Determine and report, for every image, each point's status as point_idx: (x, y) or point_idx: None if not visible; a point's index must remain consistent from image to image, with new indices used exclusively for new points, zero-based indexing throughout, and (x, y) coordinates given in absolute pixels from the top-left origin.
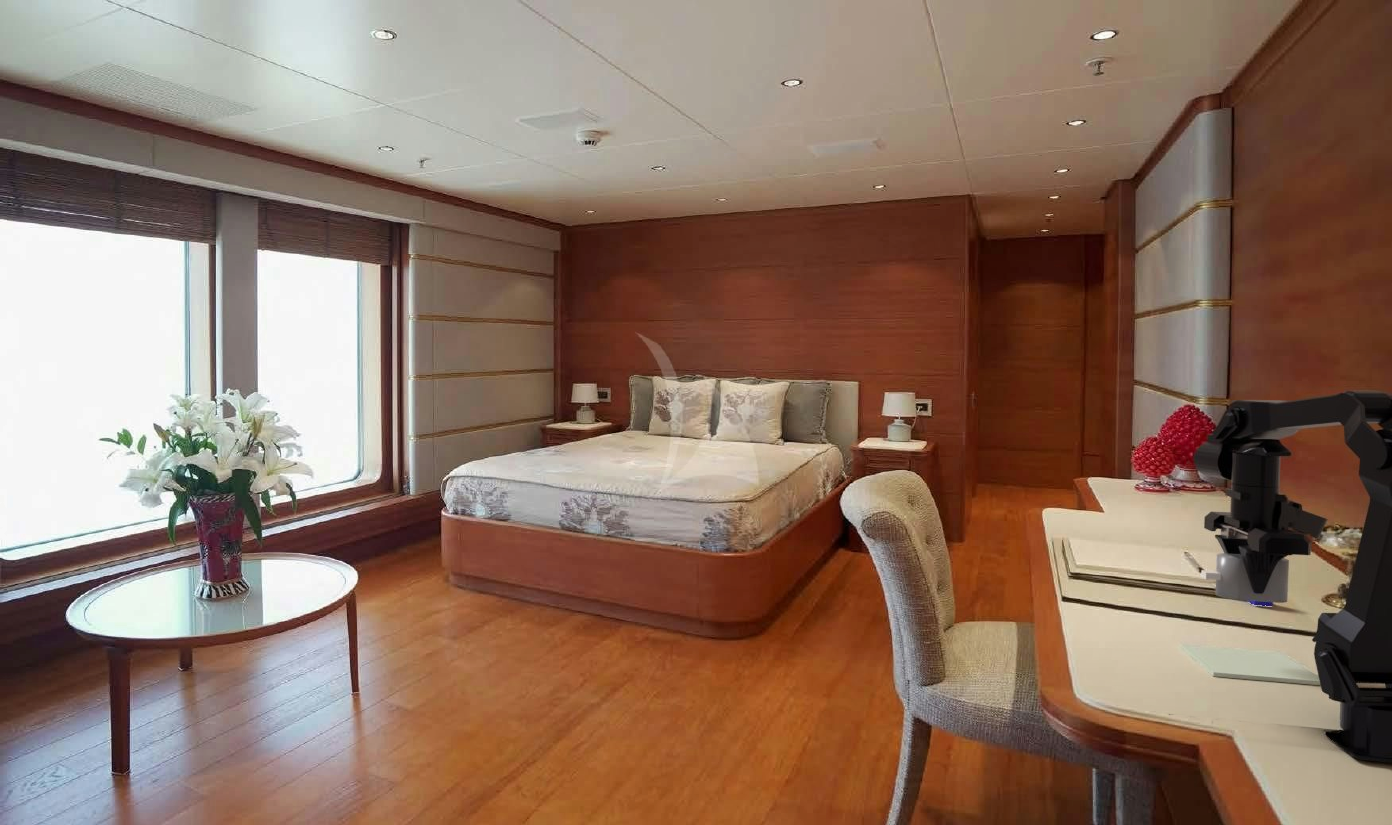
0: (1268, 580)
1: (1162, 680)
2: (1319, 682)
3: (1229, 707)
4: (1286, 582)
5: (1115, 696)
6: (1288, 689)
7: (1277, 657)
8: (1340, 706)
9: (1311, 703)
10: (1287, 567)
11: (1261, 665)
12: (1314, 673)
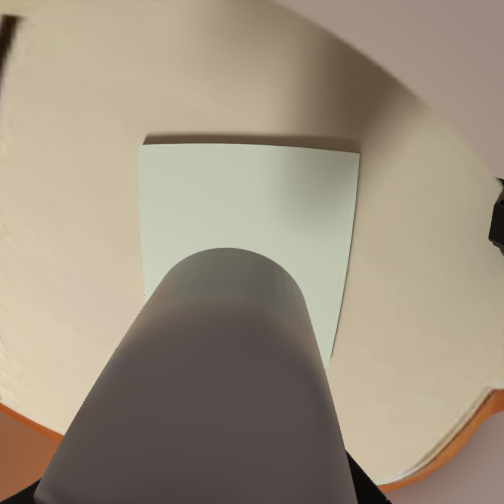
0: (356, 465)
1: (347, 427)
2: (357, 170)
3: (442, 376)
4: (313, 352)
5: (393, 464)
6: (385, 255)
7: (190, 179)
8: (502, 247)
9: (444, 250)
10: (331, 461)
11: (267, 254)
12: (304, 148)
